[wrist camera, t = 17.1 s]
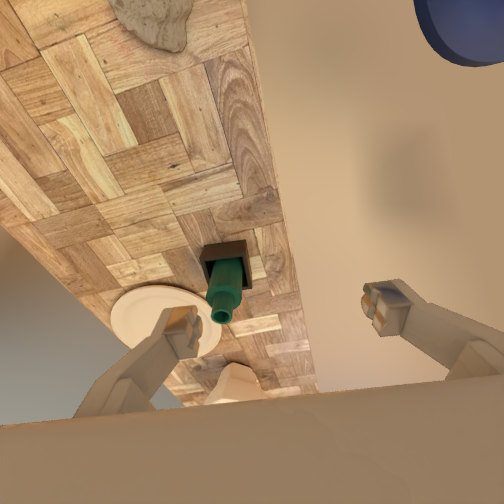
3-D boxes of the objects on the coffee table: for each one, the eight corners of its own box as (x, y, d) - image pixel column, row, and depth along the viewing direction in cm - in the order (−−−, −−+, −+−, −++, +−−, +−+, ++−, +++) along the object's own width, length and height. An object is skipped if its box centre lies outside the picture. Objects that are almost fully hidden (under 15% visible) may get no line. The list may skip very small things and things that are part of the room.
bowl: (224, 343, 60) (218, 396, 48) (276, 363, 65) (283, 414, 53) (197, 374, 67) (186, 426, 55) (246, 389, 73) (246, 439, 61)
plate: (238, 301, 51) (237, 308, 49) (204, 361, 64) (203, 369, 62) (122, 265, 45) (117, 271, 43) (110, 340, 57) (105, 347, 55)
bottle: (239, 247, 43) (237, 300, 29) (244, 270, 46) (243, 327, 32) (212, 251, 43) (196, 305, 29) (218, 273, 46) (207, 332, 32)
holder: (245, 239, 43) (245, 252, 38) (251, 273, 47) (252, 288, 42) (204, 245, 43) (199, 258, 38) (214, 278, 48) (210, 294, 43)
